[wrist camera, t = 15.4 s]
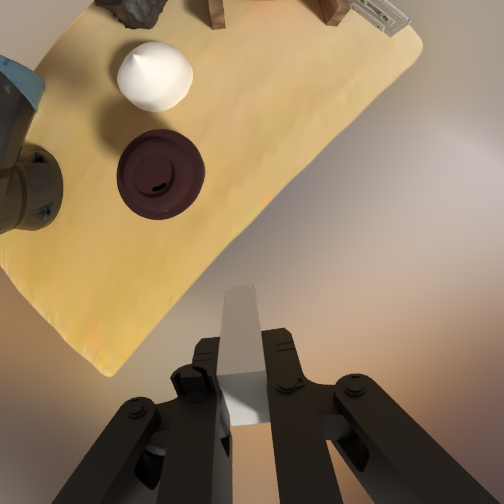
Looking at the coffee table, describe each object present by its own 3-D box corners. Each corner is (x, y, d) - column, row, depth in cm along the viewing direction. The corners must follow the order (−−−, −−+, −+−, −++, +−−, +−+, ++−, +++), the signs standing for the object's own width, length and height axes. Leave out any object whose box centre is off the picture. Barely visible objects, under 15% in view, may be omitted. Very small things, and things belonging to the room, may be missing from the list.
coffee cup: (159, 136, 38) (120, 122, 24) (221, 147, 39) (210, 135, 25) (146, 197, 41) (103, 212, 26) (206, 210, 42) (188, 232, 28)
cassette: (337, 0, 31) (350, -21, 24) (341, -5, 31) (355, -24, 23) (389, 39, 33) (409, 24, 26) (393, 34, 33) (413, 20, 26)
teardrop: (154, 43, 33) (130, 11, 22) (207, 68, 35) (196, 35, 24) (115, 96, 36) (79, 78, 24) (166, 124, 38) (140, 108, 26)
